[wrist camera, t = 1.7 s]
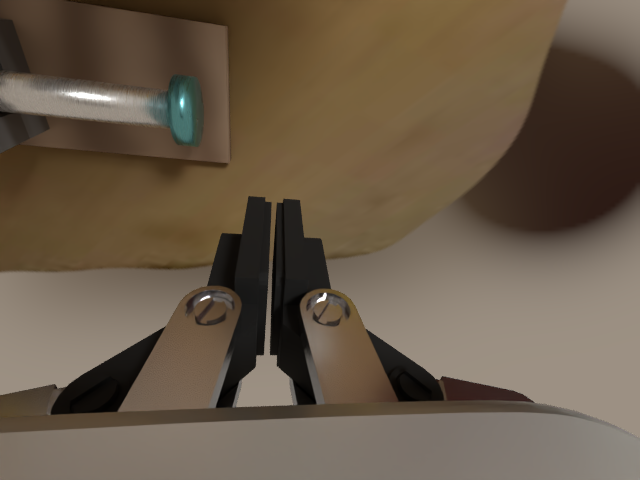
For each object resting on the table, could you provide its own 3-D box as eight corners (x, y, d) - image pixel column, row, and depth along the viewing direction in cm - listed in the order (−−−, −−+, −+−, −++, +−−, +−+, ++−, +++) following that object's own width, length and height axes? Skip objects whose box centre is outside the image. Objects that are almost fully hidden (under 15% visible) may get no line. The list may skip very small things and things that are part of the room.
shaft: (201, 72, 22) (185, 82, 18) (205, 135, 24) (192, 156, 21) (-178, 21, 18) (-290, 22, 15) (-127, 101, 21) (-212, 119, 17)
